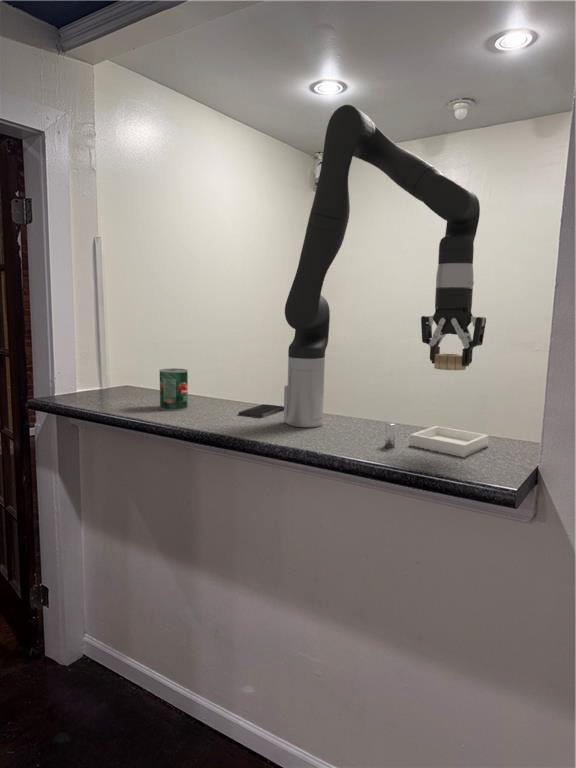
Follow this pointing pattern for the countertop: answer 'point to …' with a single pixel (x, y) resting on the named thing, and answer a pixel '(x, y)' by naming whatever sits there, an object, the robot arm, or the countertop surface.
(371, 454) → the countertop surface
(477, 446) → the white tray
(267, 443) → the countertop surface
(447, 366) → the oak ring
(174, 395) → the canned tomato
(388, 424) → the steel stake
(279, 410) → the phone
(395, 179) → the robot arm
